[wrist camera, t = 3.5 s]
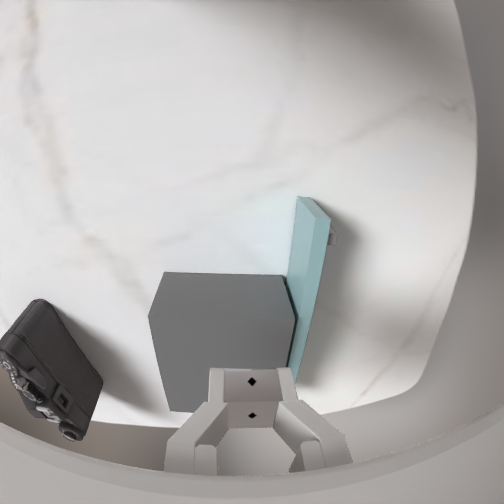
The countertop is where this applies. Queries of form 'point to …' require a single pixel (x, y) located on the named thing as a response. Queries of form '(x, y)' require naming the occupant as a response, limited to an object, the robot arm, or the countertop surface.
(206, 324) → the camera housing
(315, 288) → the side door
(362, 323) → the countertop surface
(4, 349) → the camera
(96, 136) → the countertop surface
